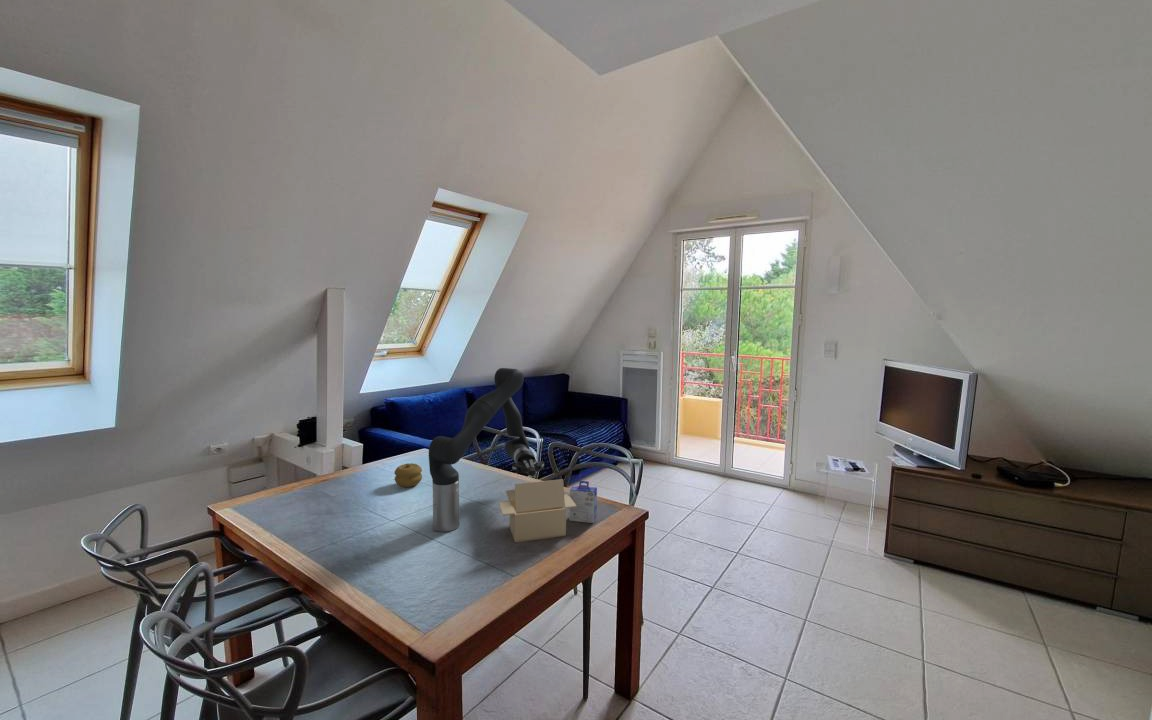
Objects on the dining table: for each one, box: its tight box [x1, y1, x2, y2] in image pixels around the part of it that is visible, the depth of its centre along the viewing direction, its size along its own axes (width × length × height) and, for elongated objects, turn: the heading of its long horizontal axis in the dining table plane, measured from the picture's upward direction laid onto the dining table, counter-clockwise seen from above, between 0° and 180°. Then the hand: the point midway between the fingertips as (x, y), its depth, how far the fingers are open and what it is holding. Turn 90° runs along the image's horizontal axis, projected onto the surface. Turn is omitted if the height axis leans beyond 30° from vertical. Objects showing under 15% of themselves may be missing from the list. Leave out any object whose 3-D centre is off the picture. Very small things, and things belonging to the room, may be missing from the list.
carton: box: [498, 489, 577, 544], centre depth 173 cm, size 26×21×10 cm
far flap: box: [514, 478, 565, 512], centre depth 163 cm, size 17×9×1 cm
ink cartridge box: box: [568, 480, 598, 524], centre depth 179 cm, size 10×6×14 cm, turn 78°
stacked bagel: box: [394, 462, 423, 488], centre depth 211 cm, size 12×12×10 cm
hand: (532, 473), depth 175 cm, fingers closed
